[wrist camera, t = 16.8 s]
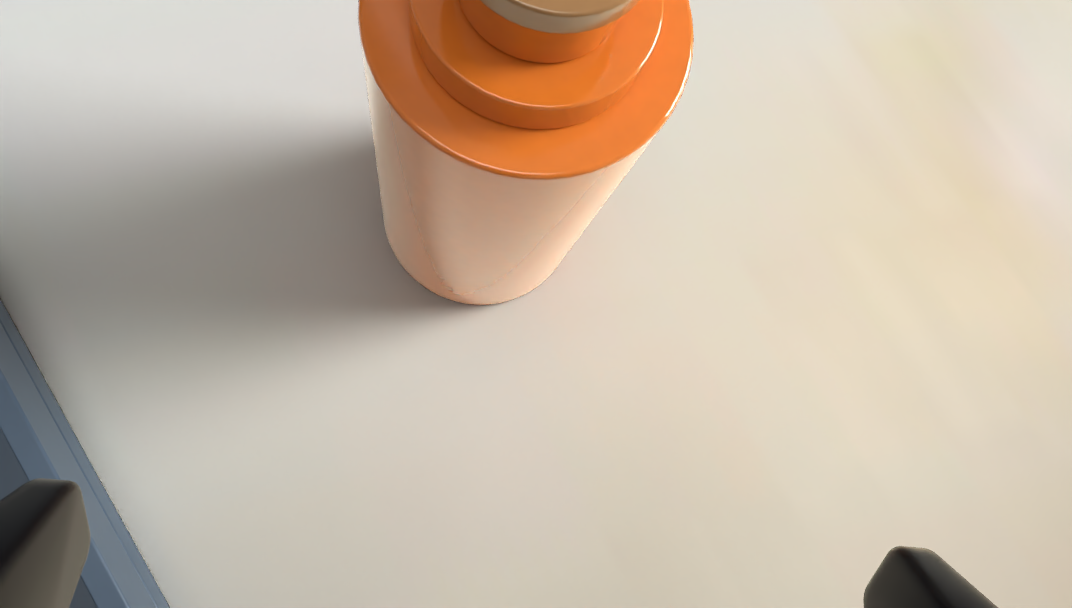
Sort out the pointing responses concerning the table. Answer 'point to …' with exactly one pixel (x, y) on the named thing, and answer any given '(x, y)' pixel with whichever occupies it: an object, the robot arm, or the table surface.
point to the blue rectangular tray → (55, 453)
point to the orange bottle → (511, 126)
